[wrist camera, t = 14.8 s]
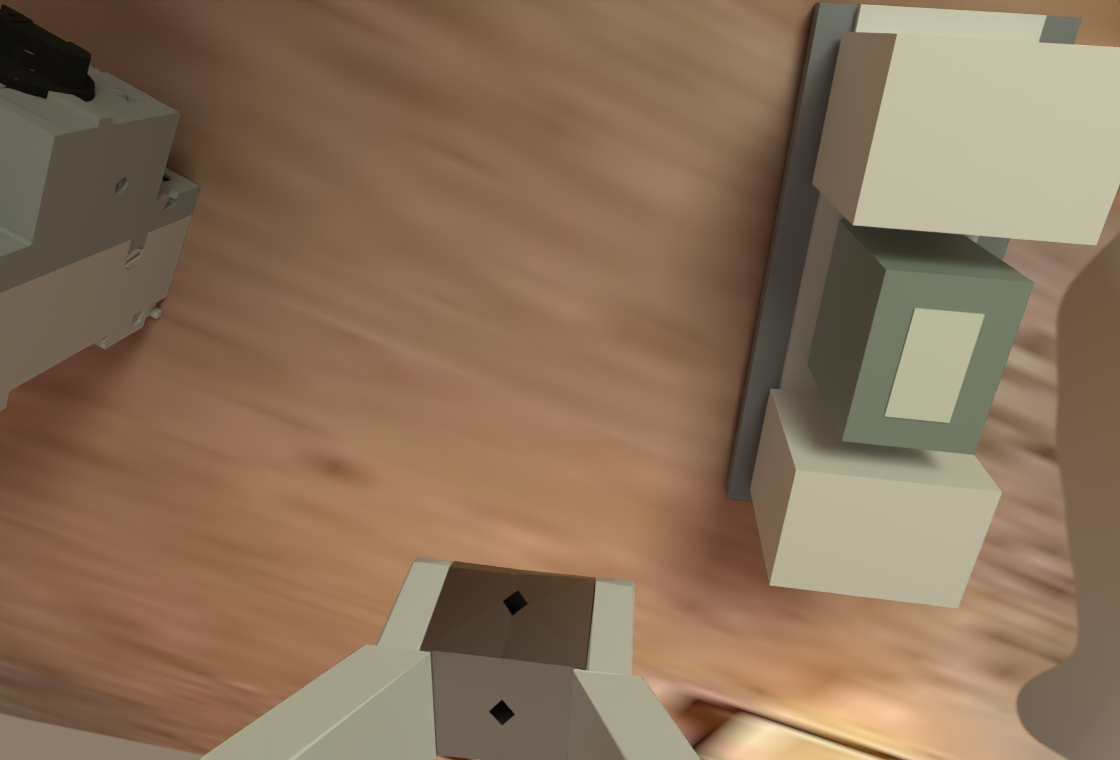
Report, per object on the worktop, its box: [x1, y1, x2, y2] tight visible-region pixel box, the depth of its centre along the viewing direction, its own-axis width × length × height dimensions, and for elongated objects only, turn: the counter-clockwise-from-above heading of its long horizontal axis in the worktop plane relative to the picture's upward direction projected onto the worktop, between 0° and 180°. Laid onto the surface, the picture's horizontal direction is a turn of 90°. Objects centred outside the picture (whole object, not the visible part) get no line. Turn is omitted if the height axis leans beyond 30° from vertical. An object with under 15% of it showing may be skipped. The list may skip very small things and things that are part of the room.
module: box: [807, 220, 1034, 455], centre depth 31 cm, size 7×5×8 cm
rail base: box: [726, 2, 1120, 608], centre depth 31 cm, size 24×10×9 cm, turn 177°
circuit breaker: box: [0, 5, 201, 411], centre depth 30 cm, size 8×14×15 cm, turn 151°
